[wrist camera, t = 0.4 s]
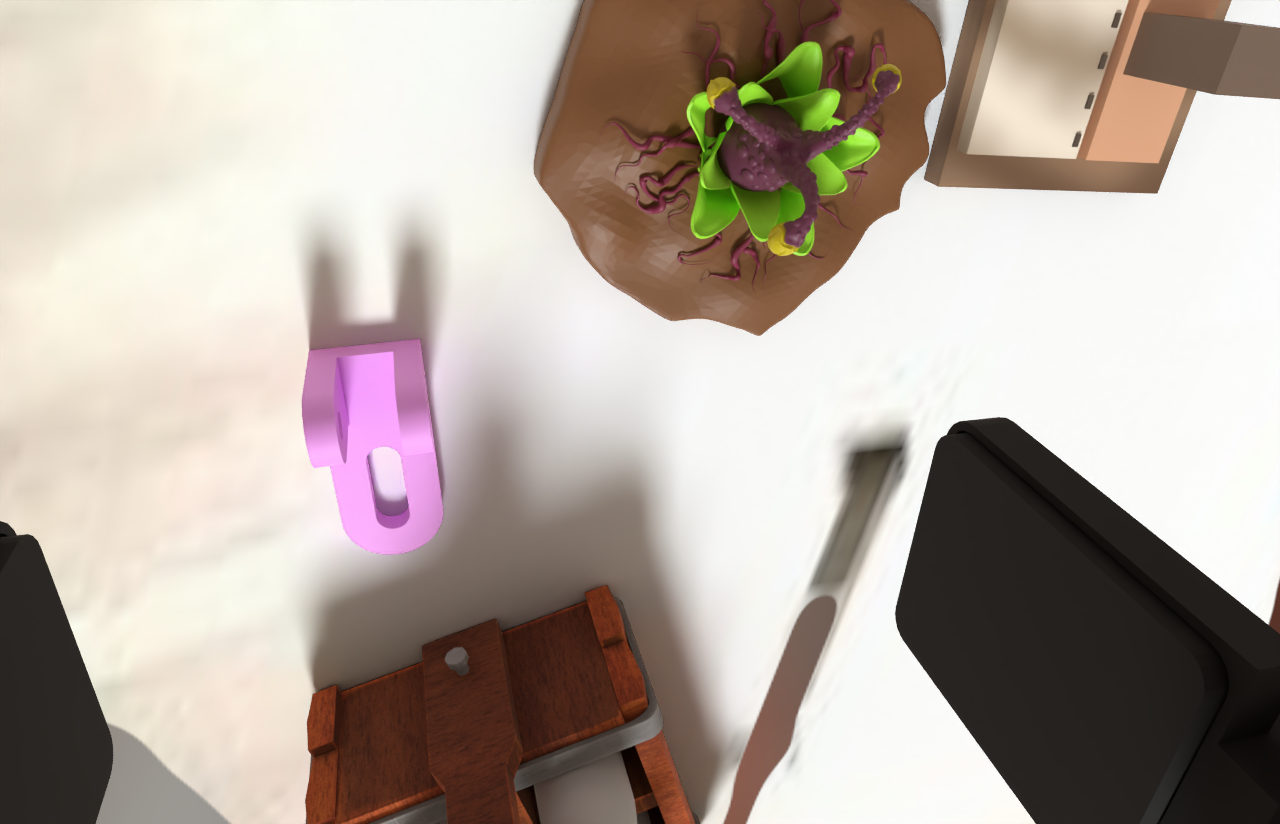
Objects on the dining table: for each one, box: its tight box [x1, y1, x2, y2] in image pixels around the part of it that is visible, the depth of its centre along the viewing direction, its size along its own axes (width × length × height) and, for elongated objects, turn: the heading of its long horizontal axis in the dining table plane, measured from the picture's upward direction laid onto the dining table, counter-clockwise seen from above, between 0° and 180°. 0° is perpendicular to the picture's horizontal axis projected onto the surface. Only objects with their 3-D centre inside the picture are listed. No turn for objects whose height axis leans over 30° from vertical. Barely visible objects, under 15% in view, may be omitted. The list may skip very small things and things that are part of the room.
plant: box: [534, 0, 946, 336], centre depth 40 cm, size 20×20×11 cm
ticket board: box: [924, 0, 1231, 193], centre depth 46 cm, size 16×15×3 cm
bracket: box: [302, 339, 443, 555], centre depth 45 cm, size 13×6×7 cm, turn 0°
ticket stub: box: [1077, 0, 1280, 163], centre depth 43 cm, size 12×5×7 cm, turn 174°
